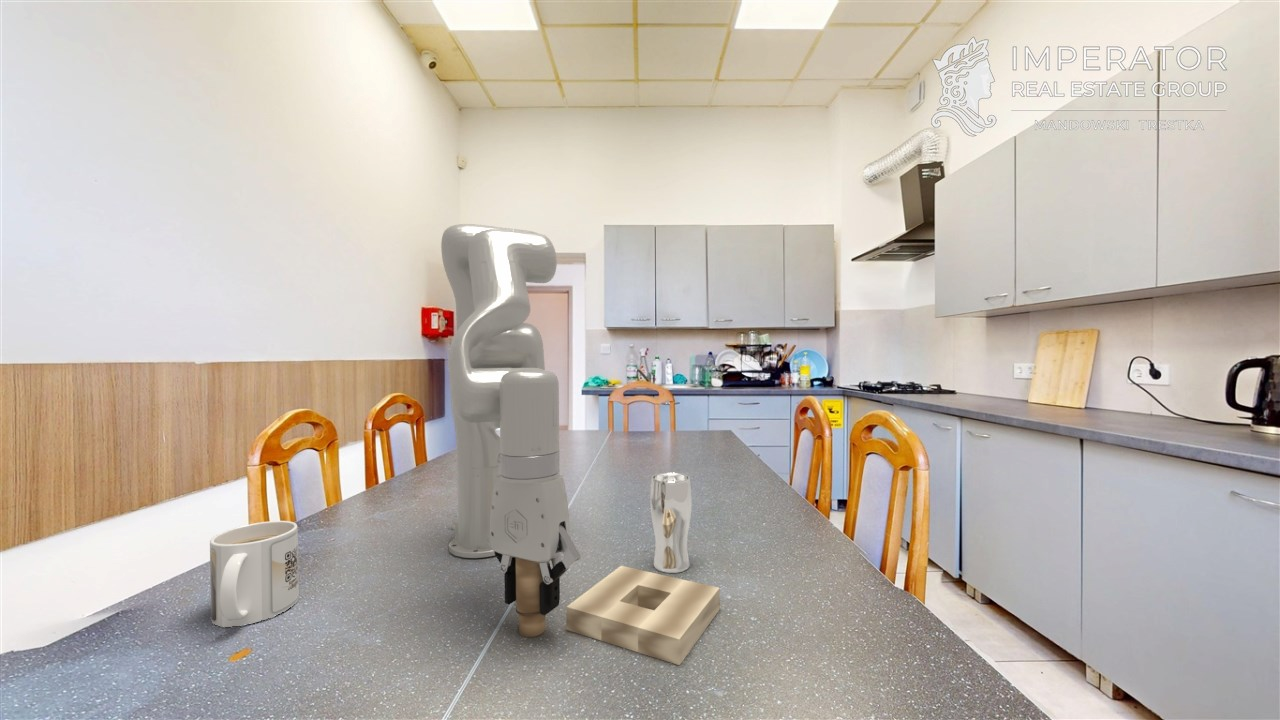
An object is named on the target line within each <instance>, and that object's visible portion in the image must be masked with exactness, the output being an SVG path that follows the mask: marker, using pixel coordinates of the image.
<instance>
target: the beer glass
mask: <svg viewBox="0 0 1280 720" xmlns="http://www.w3.org/2000/svg"><path fill="white" fill-rule="evenodd" d="M650 478H651V481H650V496H649V497H650V498H649V499H650V501H649V503H650V504H649V505H650V506H649V507H650V513H651V514H650V516H651V522H652V528H653V533H654V540H655V551H654V557H653V558H654V559H653V567H654V569H656V570H657V571H659V572H661V573H667V574H679V573H682V572H685V571H687V570H688V569H689V568H690V560H689V559H690V558H689V554H688V537H689V529H690V524H691V523H690V522H691V518H692V517H691V516H692V488H691V477H690V476H689V475H688V474H686V473H682V472H681V473H680V472H661V473H656V474H653V475H651V477H650Z"/></svg>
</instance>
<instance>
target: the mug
mask: <svg viewBox="0 0 1280 720" xmlns="http://www.w3.org/2000/svg"><path fill="white" fill-rule="evenodd" d="M298 529H299V528H298V524H297V523H296V522H293V521H290V520H272V521H271V520H270V521H260V522H255V523H250V524H245V525H241V526H238V527H234V528H231V529H228V530H224V531H222V532H220V533H218V534H216V535H214V536H213V537H211V539H210V540H209V560H210V561H209V569H210V570H209V571H210V572H209V574H210V576H209V577H210V582H209V583H210V621H212V622H211V623H212V624H213V623H214V624H215V625H218V626H224V627H223V628H225V627H231V626H240V625H244V624H249V623H254V622H257V621H261V620H264V619H267V618H269V617H272V616H274V615H277V614H278V613H281V612H283V611H285V610H287V609H288V608H290V607H291V606H293V605H294V604H295V603H296V602H299V596H300V595H299V594H300V592H299V590H300V589H299V532H298ZM296 604H297V603H296ZM296 604H295V605H296ZM295 605H294V606H295ZM294 606H293V607H294ZM214 624H213V625H214ZM215 625H214V626H215ZM218 626H217V627H218ZM231 628H232V627H231Z"/></svg>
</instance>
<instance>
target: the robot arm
mask: <svg viewBox="0 0 1280 720" xmlns="http://www.w3.org/2000/svg"><path fill="white" fill-rule="evenodd" d="M440 243H441V245H440V248H441V259H442V263H443V268H444V272H445V275H446V277H447V280H448V282H449V284H450V285H449V286H450V288H451V290H452V293H453V296H454V301H455V313H456V314H455V316H456V319H455V320H456V333H455V334H454V336H453V338H452V342H451V344H450V346H449V347H450V348H449V352H448V362H447V363H448V375H449V376H448V377H449V379H448V380H449V390H450V391H449V393H450V404H451V413H452V418H453V426H454V430H455V431H454V432H455V441H456V477H457V478H456V481H457V482H456V483H457V485H456V487H457V492H456V493H457V515H456V516H454V517H453V518H452V521H451V522H450V521H449V522H448V523H447V525H446V529H448V530H449V531H454V537H453V538H452V539H451V540H450V542H449V544H448V550H449V552H450V553H451V554H452V555H453V556H455V557H459V558H464V559H482V558H490V557H494V556H495V557H496V559H497V560H498V563H500V564H499V570H500V571H501V572H502V574H503V573H504V574H503V575H504V603H505V604H506V605H512V603H514V602H516V558H519V559H523V560H527V561H532V562H536V563H539V564H540V568H541V573H542V577H543V582H542V583H540V585H539V599H540V614H541V615H545V616H547V615H548V614H549V613H550V612H552V611H554V610H555V609H556V608H557V607H558V606H560V599H561V596H560V595H561V594H560V592H561V591H560V589H561V587H560V585H561V583H560V578H561V577H562V576H564V574H565V573H566V572H567V570H569V568H570V567H572V566H573V565H575V564H576V563H577V562H579V560H581V557H582V556H581V554H580V551H579V550H578V548H577V547H576V545H575V543H574V542H573V540H572V539H571V527H570V512H569V501H568V496H567V489H566V484H565V483H566V482H565V479H564V475H561V473H560V471H561V469H560V468H561V465H560V463H561V461H560V456H561V455H560V454H561V453H560V390H559V389H560V388H559V387H560V385H559V384H560V383H559V379H558V377H557V375H556V373H554V372H553V371H550V370H546V366H545V353H544V343H543V339H542V335H541V333H540V331H539V329H538V327H536V326H535V325H533V324H531V323H527V322H526V320H527V319H528V318H529V317H530V313H531V301H530V298H529V294H528V286H527V283H531V284H547V283H549V282H550V281H552V280H553V279H554V276H555V274H556V270H557V265H558V263H557V261H558V260H557V254H556V253H557V252H556V249H555V246H554V244H553V242H552V241H551V239H550V238H549V237H548V236H547V235H545V234H541V233H538V232H535V231H531V230H526V229H525V230H524V229H516V228H510V227H509V228H508V227H499V226H493V225H486V224H485V225H482V224H472V223H462V224H455V225H450V226H448V227H446V229H444V231H443V233H442V236H441V242H440ZM497 429H499V435H498V433H497V432H496V430H497ZM560 553H562V554H563V558H562V557H561V554H560ZM550 561H551V564H550ZM551 565H552V567H551Z"/></svg>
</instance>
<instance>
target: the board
mask: <svg viewBox="0 0 1280 720" xmlns="http://www.w3.org/2000/svg"><path fill="white" fill-rule="evenodd" d="M720 595H721V588H720V587H718V586H713V585H708V584H704V583H701V582H700V583H699V582H695V581H691V580H688V579H687V580H686V579H681V578H677V577H673V576H668V575H663V574H660V573H655V572H651V571H646V570H641V569H638V568H633V567H629V566H625V565H620V566H619V567H617V568H616V569H614V570H613V571H612V572H611V573H609V574H608V575H606V576H605V577H604V578H603V579H601V580H600V581H598V582H597V583H596V584H594V585H593V586H592V587H591V588H589V589H588V590H586V591H585V592H584V593H582V594H581V595H580V596H579V597H577V598H576V599H575V600H573V601H572V602H571V603H569V604H567V606H566V607H565V610H566V611H565V613H566V614H565V615H566V616H565V617H566V618H565V619H566V622H565V623H566V625H565V628H566V631H569V632H571V633H575V634H579V635H582V636H584V637H588V638H592V639H595V640H597V641H598V640H599V641H601V642H604V643H607V644H611V645H613V646H617V647H620V648H623V649H627V650H629V651H632V652H636V653H638V654H642V655H645V656H649V657H652V658H654V659H658V660H660V661H664V662H667V663H670V664H674V665H676V666H680V665H681V664H682V663H683V662H684V660H685V659H686V657H687V656H688V654H689V653H690V652H691V651H692V649H693V647H694V646H695V645H696V644H697V642H698V641H699V639H700V638H701V636H702V635H703V634H704V632H705V631H706V630H707V628H708V627H709V625H710V624H711V622H713V619H714V618H715V617H716V616H717V614H718V613H719V611H720V610H721V597H720Z"/></svg>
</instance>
